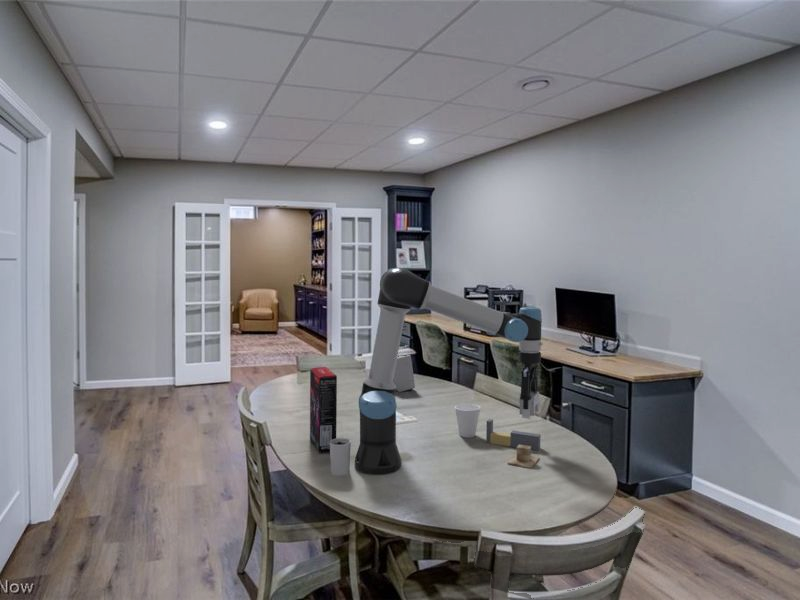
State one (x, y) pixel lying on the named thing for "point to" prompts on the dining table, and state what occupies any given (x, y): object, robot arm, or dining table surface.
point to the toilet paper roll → (340, 456)
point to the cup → (467, 419)
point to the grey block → (532, 403)
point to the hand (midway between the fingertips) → (529, 414)
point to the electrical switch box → (404, 374)
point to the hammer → (512, 438)
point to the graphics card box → (323, 408)
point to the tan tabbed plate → (523, 457)
